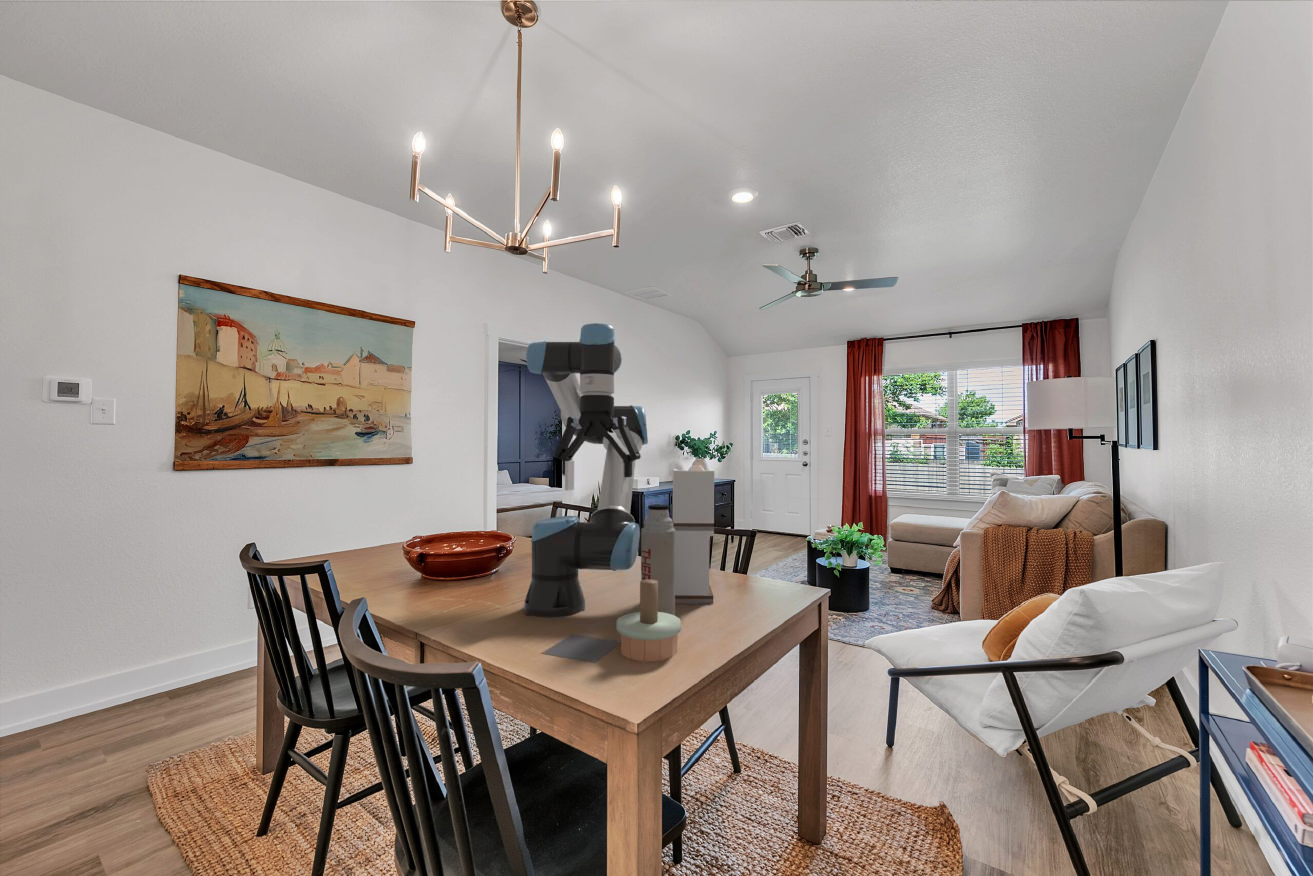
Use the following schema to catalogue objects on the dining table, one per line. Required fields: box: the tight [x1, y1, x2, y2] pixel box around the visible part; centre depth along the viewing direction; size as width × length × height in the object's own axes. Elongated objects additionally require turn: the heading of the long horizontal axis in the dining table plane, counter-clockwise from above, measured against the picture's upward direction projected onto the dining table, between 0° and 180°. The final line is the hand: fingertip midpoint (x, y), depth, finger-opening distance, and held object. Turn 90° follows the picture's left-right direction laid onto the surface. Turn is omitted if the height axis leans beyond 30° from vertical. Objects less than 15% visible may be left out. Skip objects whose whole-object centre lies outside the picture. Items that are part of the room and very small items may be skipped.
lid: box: [616, 579, 682, 640], centre depth 115 cm, size 13×13×10 cm
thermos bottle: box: [640, 503, 676, 616], centre depth 133 cm, size 8×8×28 cm
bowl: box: [620, 634, 678, 663], centre depth 115 cm, size 11×11×5 cm
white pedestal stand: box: [672, 468, 715, 604], centre depth 156 cm, size 11×11×35 cm
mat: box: [541, 633, 621, 664], centre depth 116 cm, size 12×12×1 cm
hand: (596, 491), depth 125 cm, fingers open, 13 cm apart
